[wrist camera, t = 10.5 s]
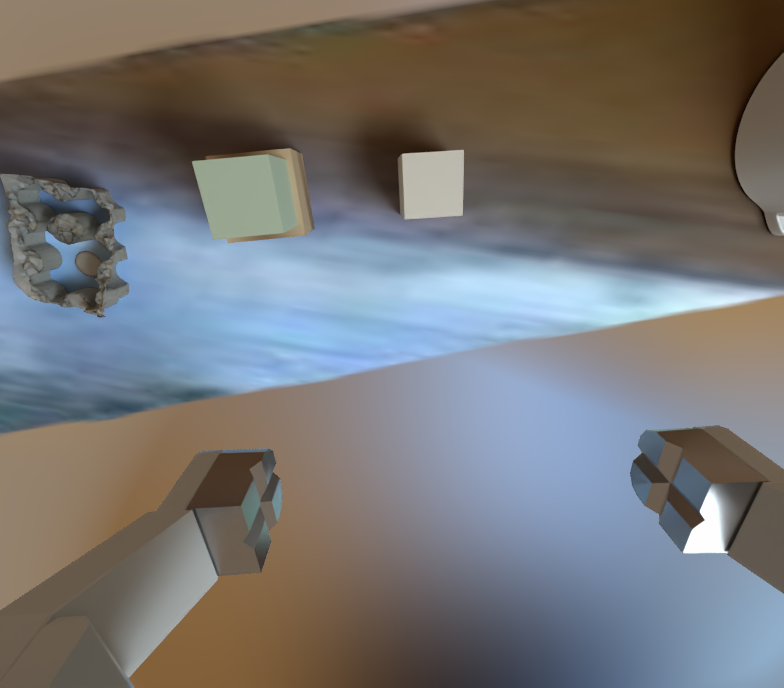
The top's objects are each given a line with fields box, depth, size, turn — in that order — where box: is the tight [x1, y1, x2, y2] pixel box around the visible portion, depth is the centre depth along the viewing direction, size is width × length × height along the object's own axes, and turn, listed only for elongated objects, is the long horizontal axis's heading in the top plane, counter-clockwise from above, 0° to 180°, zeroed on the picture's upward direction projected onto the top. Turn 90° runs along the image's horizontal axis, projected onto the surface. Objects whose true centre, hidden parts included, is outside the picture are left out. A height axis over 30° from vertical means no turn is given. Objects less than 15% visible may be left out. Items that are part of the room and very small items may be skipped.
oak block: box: [205, 148, 314, 243], centre depth 29 cm, size 6×6×5 cm
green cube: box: [192, 154, 298, 240], centre depth 25 cm, size 4×4×5 cm
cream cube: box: [398, 150, 464, 219], centre depth 29 cm, size 4×4×5 cm
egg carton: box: [0, 174, 129, 317], centre depth 31 cm, size 11×8×4 cm
